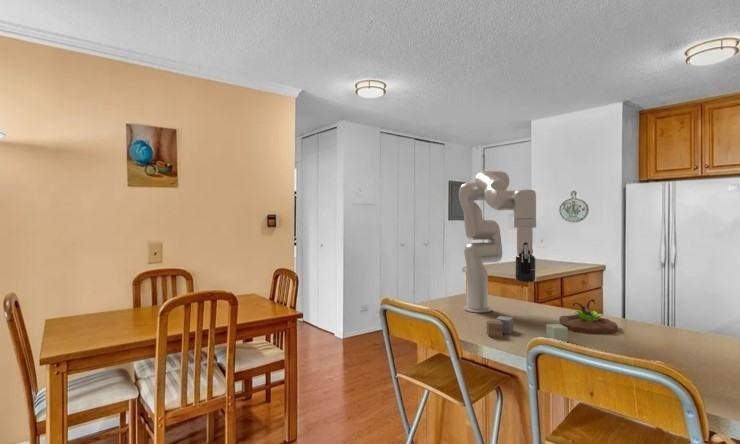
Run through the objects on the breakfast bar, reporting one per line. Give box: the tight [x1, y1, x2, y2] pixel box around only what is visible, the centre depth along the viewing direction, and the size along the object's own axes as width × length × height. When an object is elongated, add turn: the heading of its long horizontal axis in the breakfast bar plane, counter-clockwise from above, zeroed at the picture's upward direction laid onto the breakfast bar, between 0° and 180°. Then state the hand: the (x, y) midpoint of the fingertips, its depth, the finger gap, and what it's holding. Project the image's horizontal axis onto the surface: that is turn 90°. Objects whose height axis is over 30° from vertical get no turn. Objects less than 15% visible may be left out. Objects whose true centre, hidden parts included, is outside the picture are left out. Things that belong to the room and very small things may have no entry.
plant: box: [559, 298, 619, 335], centre depth 153 cm, size 20×20×11 cm
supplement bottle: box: [514, 248, 537, 283], centre depth 143 cm, size 7×7×12 cm
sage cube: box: [545, 323, 569, 343], centre depth 138 cm, size 5×5×5 cm
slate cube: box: [495, 315, 514, 335], centre depth 149 cm, size 5×5×5 cm
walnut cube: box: [486, 319, 504, 338], centre depth 145 cm, size 5×5×5 cm
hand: (525, 271), depth 143 cm, fingers closed on supplement bottle, 6 cm apart
